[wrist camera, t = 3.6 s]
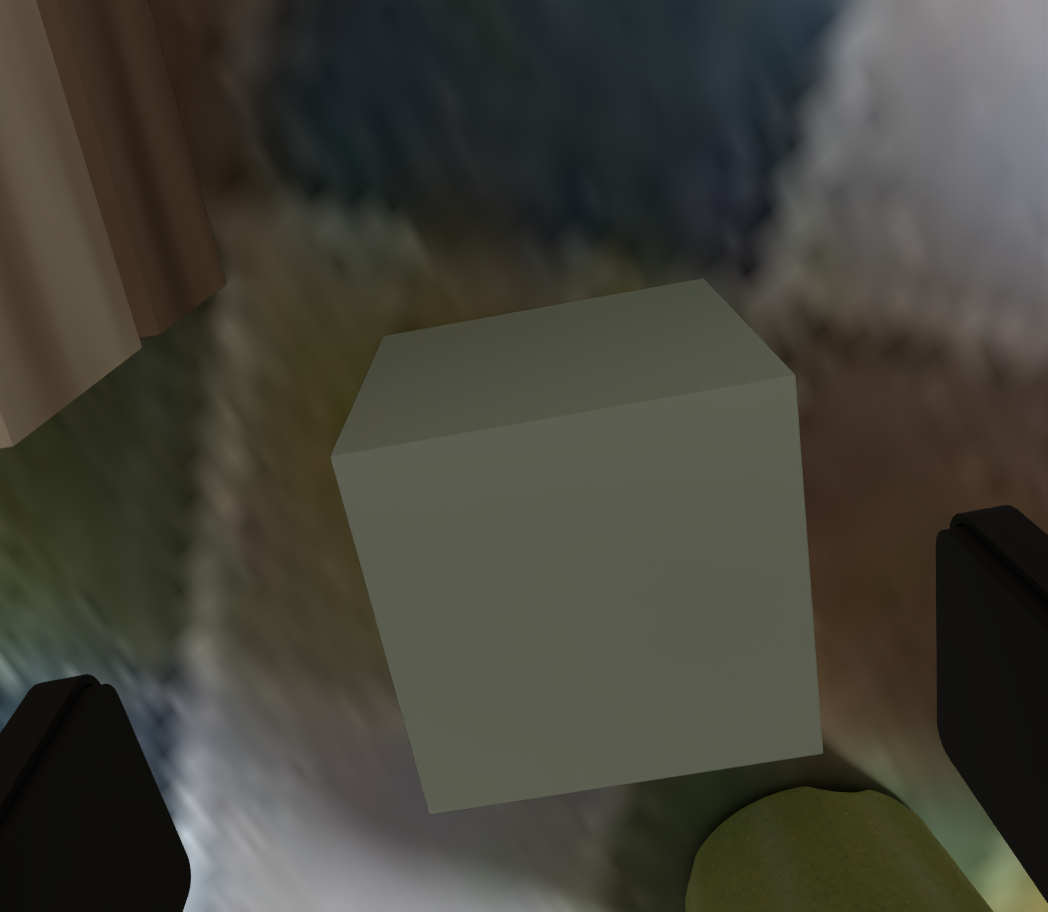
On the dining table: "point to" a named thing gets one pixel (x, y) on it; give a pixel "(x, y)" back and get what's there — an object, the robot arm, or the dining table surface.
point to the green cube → (586, 545)
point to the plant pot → (827, 859)
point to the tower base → (135, 155)
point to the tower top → (49, 243)
